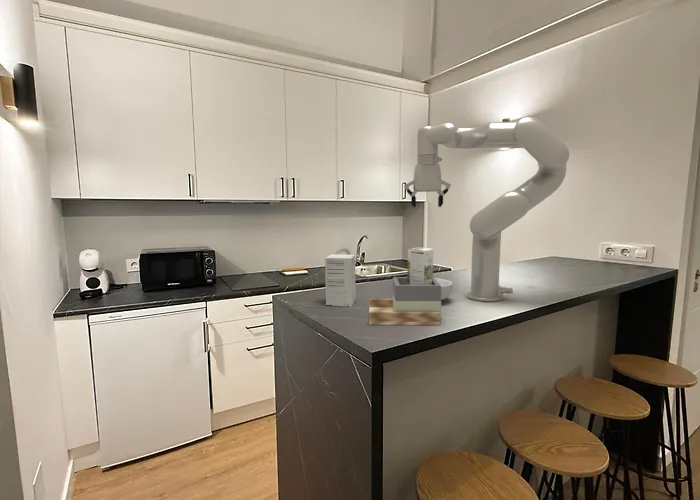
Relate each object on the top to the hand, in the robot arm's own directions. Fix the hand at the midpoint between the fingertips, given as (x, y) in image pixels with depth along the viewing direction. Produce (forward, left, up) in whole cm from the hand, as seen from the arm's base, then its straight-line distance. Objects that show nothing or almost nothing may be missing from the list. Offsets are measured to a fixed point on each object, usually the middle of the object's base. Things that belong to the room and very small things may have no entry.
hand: (427, 206), depth 138 cm
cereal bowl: (+1, +12, -34) cm, 36 cm away
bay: (+12, +32, -33) cm, 48 cm away
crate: (+8, +32, -32) cm, 46 cm away
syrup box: (+6, +32, -27) cm, 42 cm away
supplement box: (+32, +16, -34) cm, 49 cm away
